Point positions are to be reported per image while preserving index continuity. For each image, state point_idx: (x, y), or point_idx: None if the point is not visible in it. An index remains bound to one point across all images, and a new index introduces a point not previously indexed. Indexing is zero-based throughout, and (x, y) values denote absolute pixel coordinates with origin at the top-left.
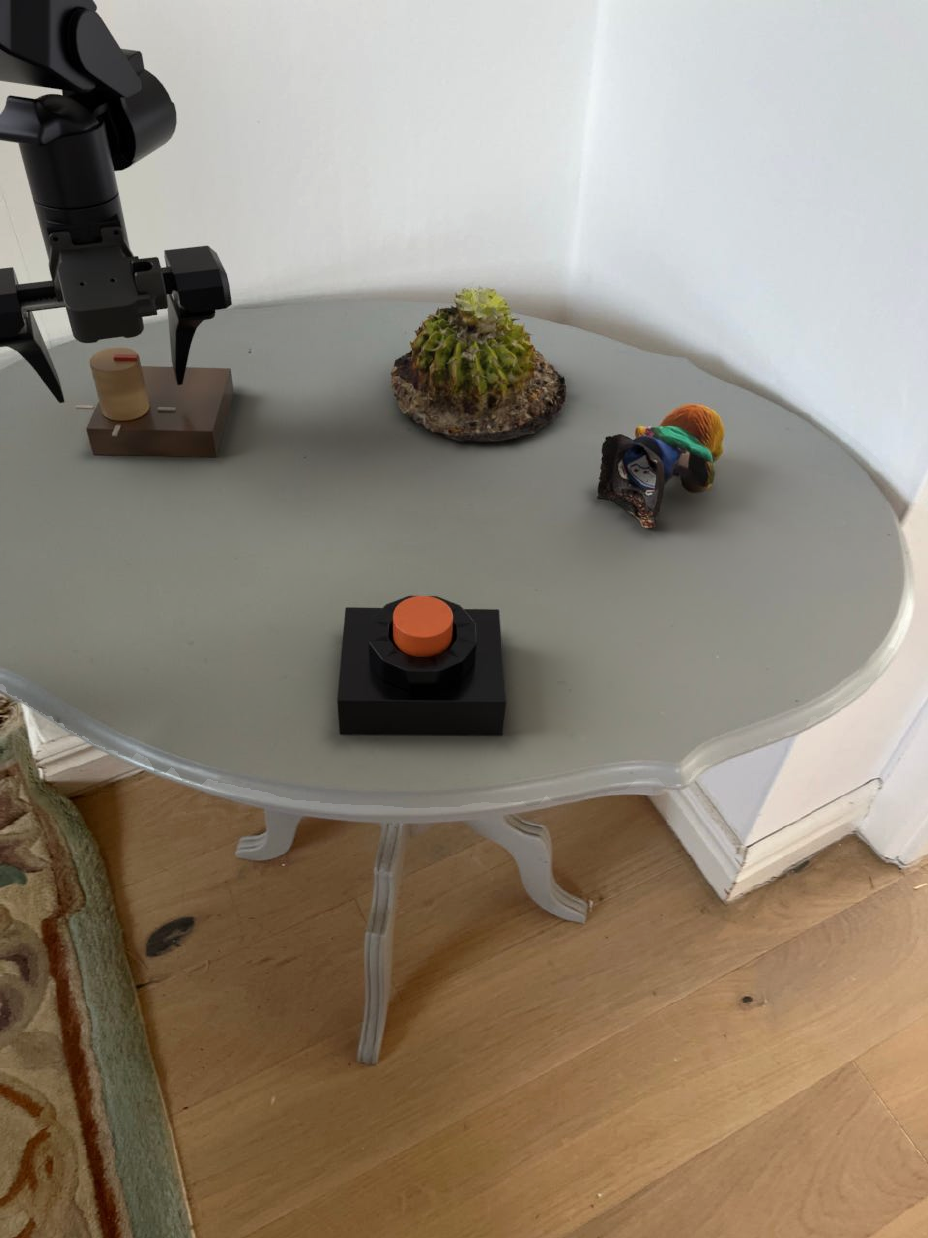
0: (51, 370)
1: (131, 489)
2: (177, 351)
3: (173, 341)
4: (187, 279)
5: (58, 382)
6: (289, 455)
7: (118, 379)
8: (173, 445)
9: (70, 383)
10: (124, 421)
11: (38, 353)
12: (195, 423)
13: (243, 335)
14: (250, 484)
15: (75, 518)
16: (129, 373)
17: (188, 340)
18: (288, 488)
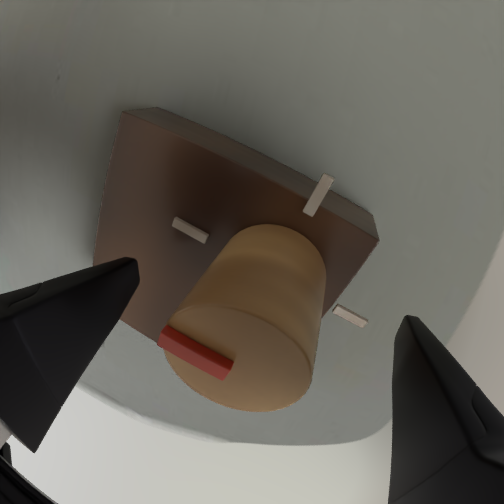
0: (442, 383)
1: (334, 61)
2: (58, 291)
3: (61, 327)
4: None
5: (414, 356)
6: (70, 86)
7: (248, 287)
8: (213, 138)
9: (325, 400)
10: (289, 227)
11: (481, 439)
12: (144, 150)
13: (112, 369)
14: (130, 19)
15: (450, 33)
16: (205, 292)
17: (14, 292)
18: (92, 6)
